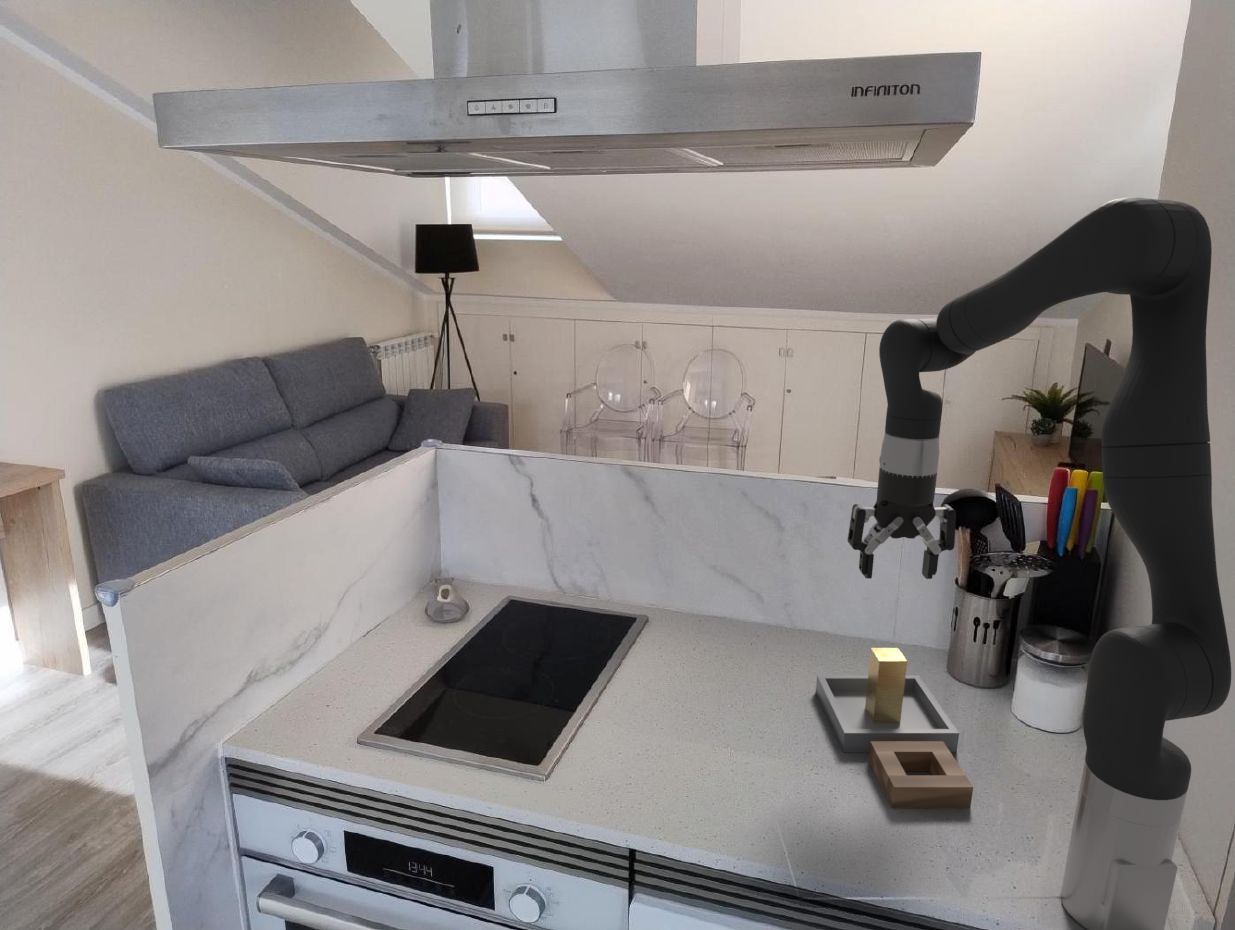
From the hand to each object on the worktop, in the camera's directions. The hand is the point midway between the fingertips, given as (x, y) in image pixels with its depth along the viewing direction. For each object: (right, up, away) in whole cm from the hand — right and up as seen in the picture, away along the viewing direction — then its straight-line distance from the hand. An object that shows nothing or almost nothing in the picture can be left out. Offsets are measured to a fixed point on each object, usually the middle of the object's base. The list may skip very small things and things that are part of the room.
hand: (897, 576), depth 124 cm
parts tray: (0, -22, +6) cm, 23 cm away
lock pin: (0, -21, +6) cm, 22 cm away
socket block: (0, -26, -8) cm, 27 cm away
